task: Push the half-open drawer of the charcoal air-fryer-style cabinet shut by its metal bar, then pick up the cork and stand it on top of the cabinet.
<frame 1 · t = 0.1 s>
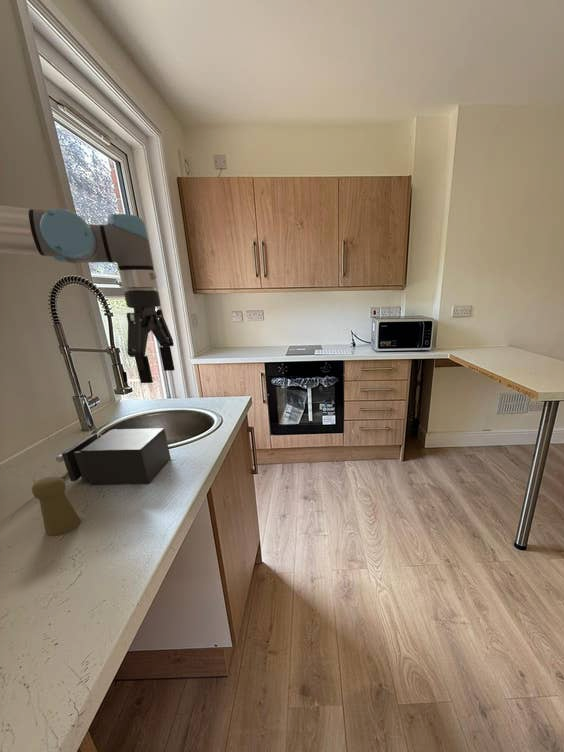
hand: (159, 376, 92), 24 cm above the countertop, tool pointing down, fingers open, 13 cm apart
cork: (64, 526, 72), on the countertop
cabinet: (133, 471, 93), on the countertop
drawer: (99, 455, 91), point 5 cm above the countertop, slide at 4.0 cm
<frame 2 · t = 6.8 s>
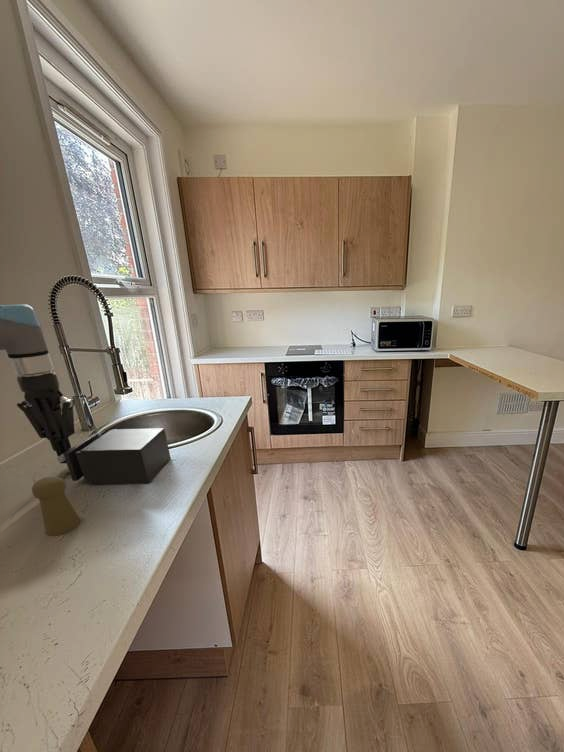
hand: (66, 460, 92), 4 cm above the countertop, tool pointing down, fingers closed
drawer: (101, 455, 91), point 5 cm above the countertop, slide at 3.6 cm, touching gripper
everything else where it was.
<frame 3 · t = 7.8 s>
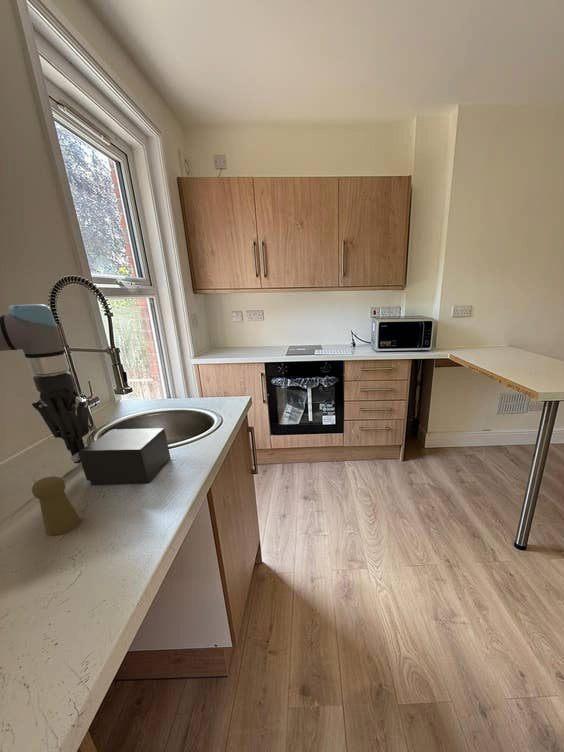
hand: (80, 460, 92), 3 cm above the countertop, tool pointing down, fingers closed
drawer: (114, 455, 91), point 5 cm above the countertop, slide at 0.0 cm, touching cabinet, gripper
everything else where it was.
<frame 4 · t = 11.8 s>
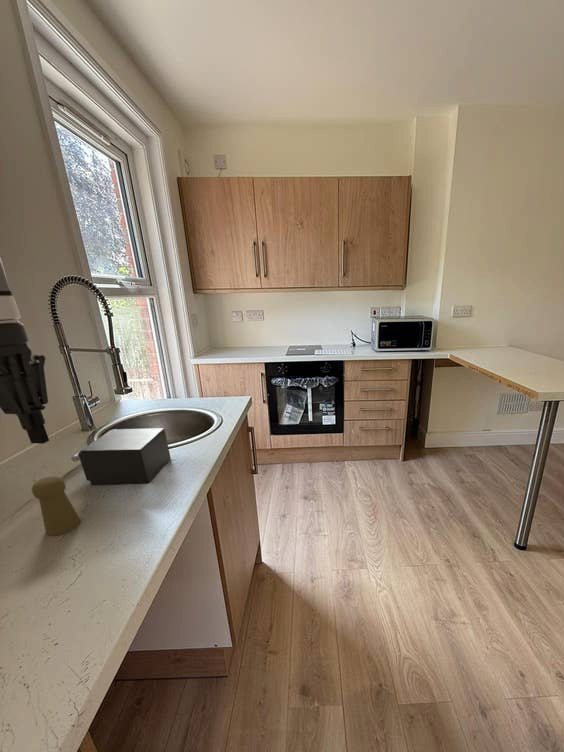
hand: (40, 441, 71), 16 cm above the countertop, tool pointing down, fingers closed
drawer: (114, 455, 91), point 5 cm above the countertop, slide at 0.0 cm, touching cabinet
everything else where it was.
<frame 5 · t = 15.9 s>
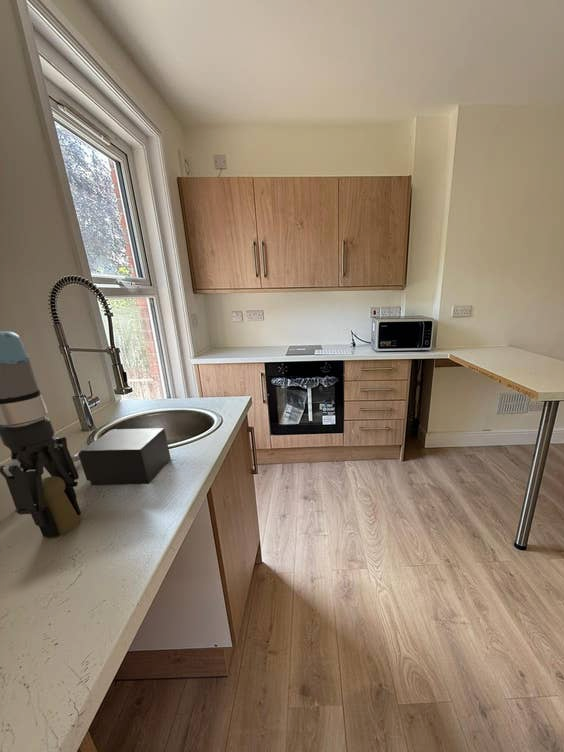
hand: (63, 524, 72), 0 cm above the countertop, tool pointing down, fingers closed on cork, 6 cm apart
cork: (64, 526, 72), on the countertop, touching gripper
everything else where it was.
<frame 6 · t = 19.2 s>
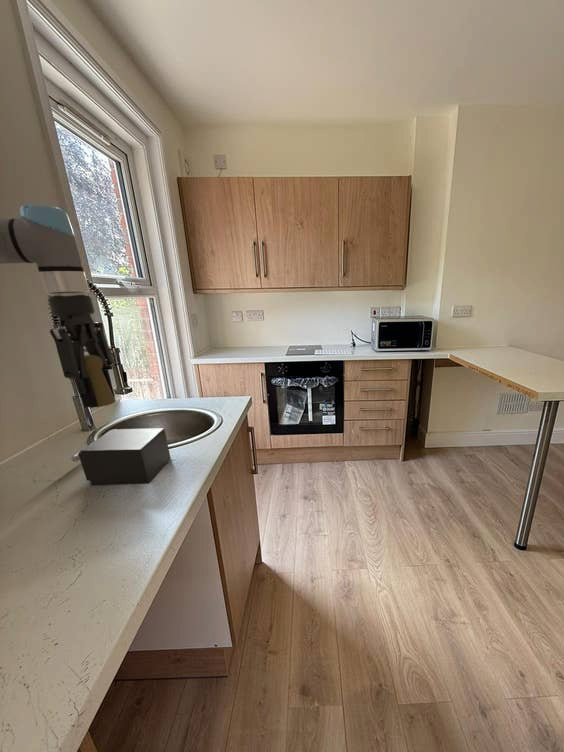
hand: (100, 401, 81), 21 cm above the countertop, tool pointing down, fingers closed on cork, 6 cm apart
cork: (100, 404, 81), point 21 cm above the countertop, touching gripper
everything else where it was.
when the fingers open (10 cm above the countertop, at t = 22.5 s): cork stays where it is, resting on cabinet.
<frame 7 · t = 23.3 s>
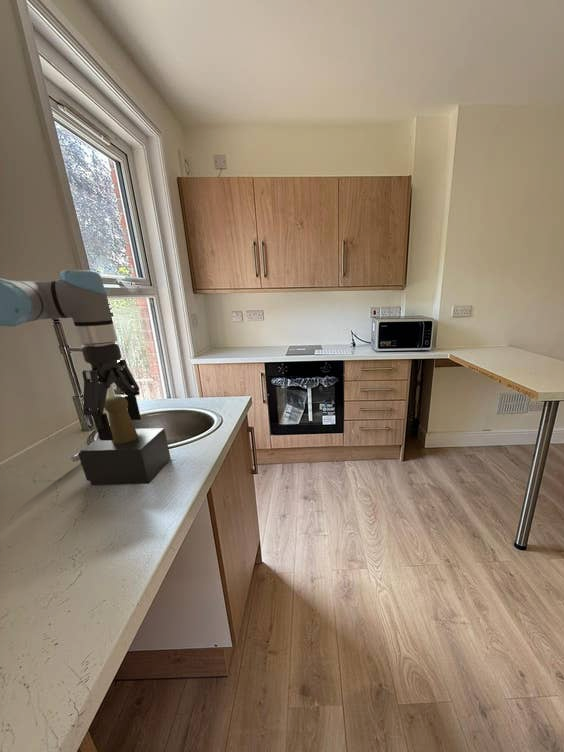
hand: (122, 429, 89), 12 cm above the countertop, tool pointing down, fingers open, 13 cm apart
cork: (125, 439, 90), point 9 cm above the countertop, touching cabinet
everything else where it was.
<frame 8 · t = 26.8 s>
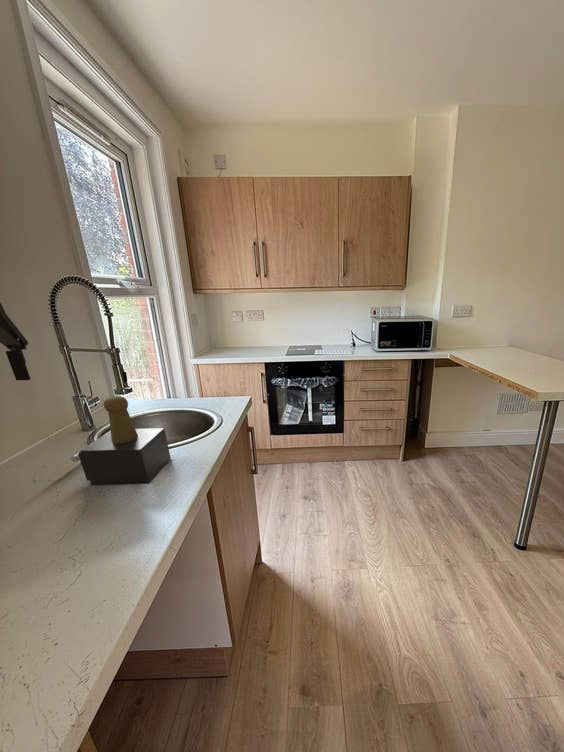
nothing on the countertop moved.
at the end: drawer slide at 0.0 cm; cork inside the target area on the cabinet (0.1 cm from its centre), point 9.4 cm above the cabinet's base; cork tilted 0° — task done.
